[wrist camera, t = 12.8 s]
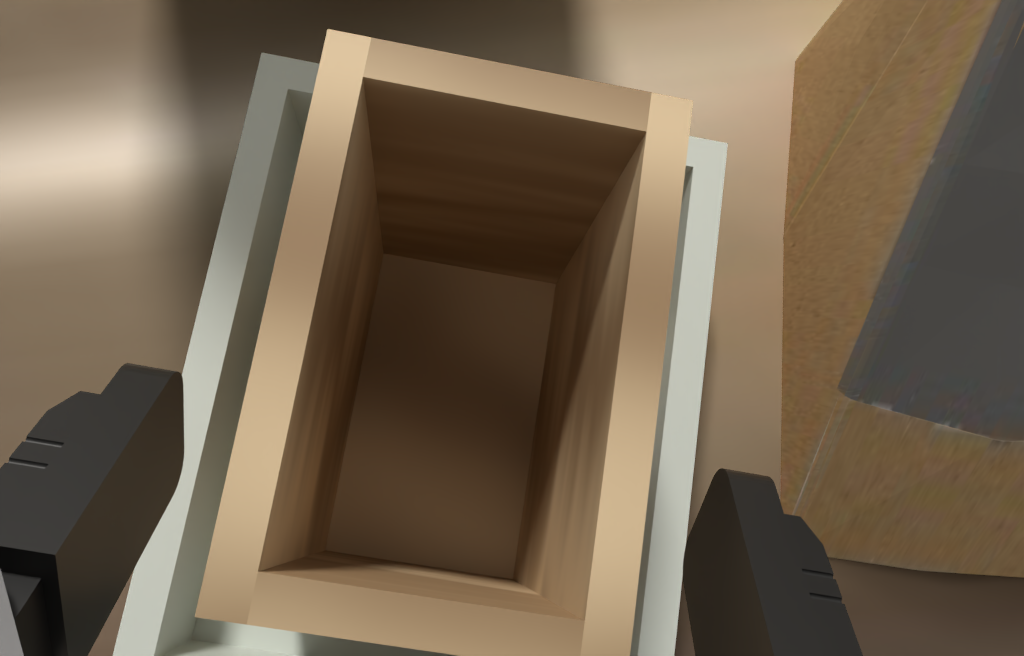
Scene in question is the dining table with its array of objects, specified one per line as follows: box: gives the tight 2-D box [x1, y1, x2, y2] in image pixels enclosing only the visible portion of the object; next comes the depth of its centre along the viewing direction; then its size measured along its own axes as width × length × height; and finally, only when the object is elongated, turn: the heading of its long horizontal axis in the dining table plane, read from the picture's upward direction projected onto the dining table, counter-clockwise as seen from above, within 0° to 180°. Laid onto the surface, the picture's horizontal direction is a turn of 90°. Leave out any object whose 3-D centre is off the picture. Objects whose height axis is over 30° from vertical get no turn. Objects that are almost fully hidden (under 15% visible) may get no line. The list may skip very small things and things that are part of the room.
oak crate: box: [195, 29, 693, 656], centre depth 18 cm, size 9×6×10 cm, turn 171°
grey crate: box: [113, 53, 728, 656], centre depth 22 cm, size 15×12×4 cm
